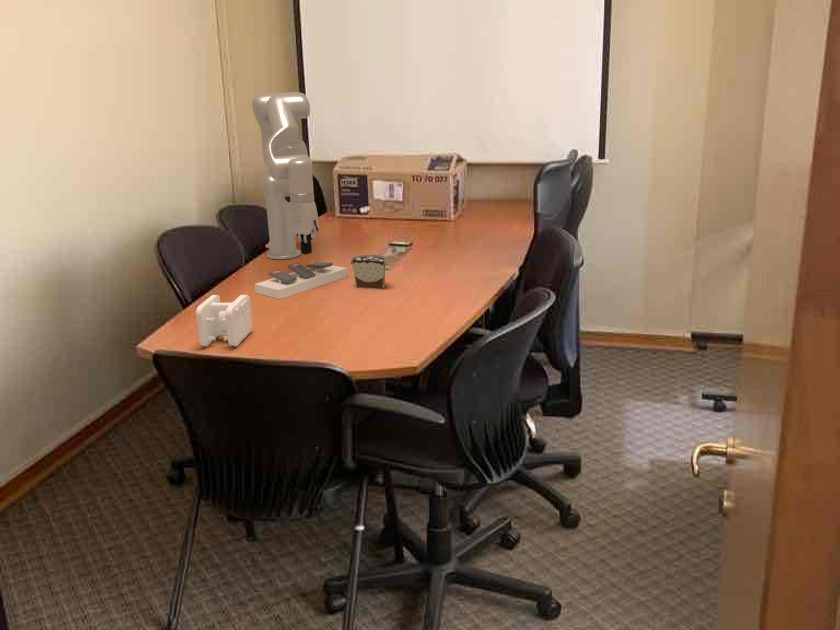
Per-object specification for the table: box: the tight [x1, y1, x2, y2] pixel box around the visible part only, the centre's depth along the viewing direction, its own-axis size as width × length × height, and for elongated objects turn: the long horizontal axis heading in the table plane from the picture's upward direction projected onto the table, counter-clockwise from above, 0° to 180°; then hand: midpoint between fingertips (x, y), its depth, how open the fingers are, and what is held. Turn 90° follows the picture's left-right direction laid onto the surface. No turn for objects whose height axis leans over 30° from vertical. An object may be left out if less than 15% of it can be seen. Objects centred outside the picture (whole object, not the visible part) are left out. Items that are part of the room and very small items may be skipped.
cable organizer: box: [195, 294, 253, 348], centre depth 240 cm, size 15×11×12 cm
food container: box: [350, 253, 388, 291], centre depth 283 cm, size 12×6×10 cm, turn 71°
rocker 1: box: [268, 269, 297, 283], centre depth 283 cm, size 9×4×1 cm, turn 49°
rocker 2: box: [287, 261, 315, 279], centre depth 288 cm, size 9×4×1 cm, turn 50°
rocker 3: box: [305, 261, 334, 268], centre depth 294 cm, size 9×4×1 cm, turn 49°
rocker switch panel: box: [254, 264, 348, 300], centre depth 289 cm, size 12×30×4 cm, turn 139°
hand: (306, 253), depth 284 cm, fingers closed
